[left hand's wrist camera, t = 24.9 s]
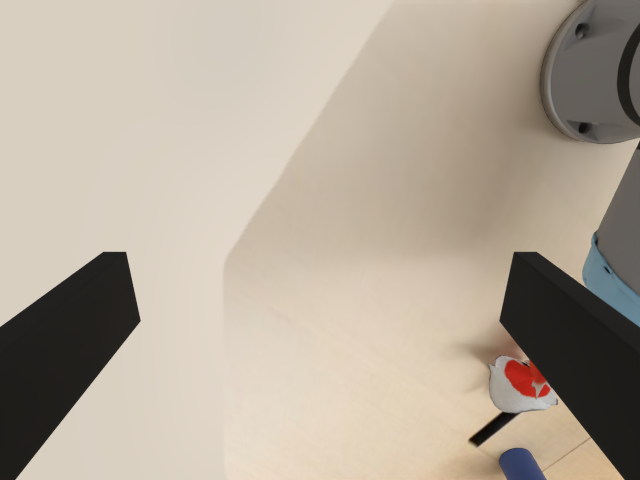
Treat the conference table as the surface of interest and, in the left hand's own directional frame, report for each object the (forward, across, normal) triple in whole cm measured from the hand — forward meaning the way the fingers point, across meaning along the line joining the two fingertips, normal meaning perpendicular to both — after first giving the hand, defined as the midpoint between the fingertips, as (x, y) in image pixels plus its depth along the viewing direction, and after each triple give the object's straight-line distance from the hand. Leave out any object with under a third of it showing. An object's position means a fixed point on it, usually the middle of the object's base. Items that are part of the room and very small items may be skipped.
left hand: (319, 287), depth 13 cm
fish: (+32, +29, -28) cm, 52 cm away
